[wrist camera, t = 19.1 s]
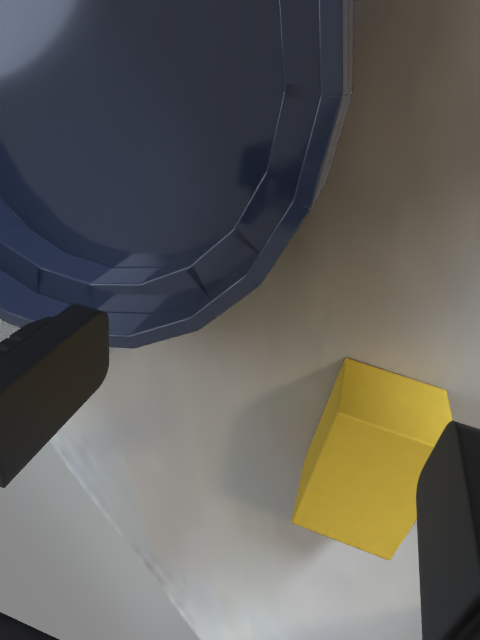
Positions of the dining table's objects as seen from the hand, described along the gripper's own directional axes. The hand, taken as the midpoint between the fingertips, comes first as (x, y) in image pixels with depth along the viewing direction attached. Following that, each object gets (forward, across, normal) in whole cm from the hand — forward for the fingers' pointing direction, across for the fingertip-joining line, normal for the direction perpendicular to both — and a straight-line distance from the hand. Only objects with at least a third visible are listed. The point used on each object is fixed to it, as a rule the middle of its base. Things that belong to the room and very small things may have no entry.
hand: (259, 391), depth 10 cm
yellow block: (+10, -4, +8) cm, 13 cm away
